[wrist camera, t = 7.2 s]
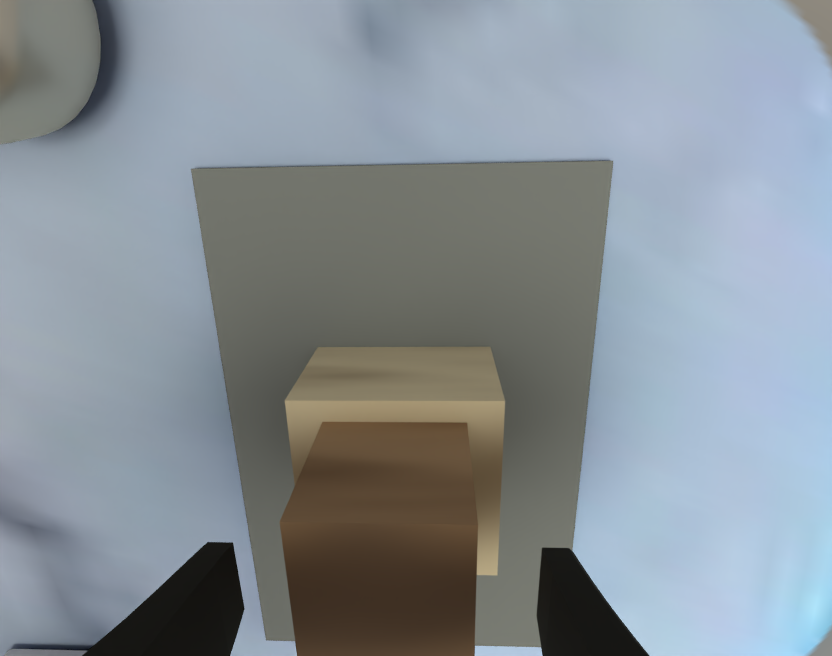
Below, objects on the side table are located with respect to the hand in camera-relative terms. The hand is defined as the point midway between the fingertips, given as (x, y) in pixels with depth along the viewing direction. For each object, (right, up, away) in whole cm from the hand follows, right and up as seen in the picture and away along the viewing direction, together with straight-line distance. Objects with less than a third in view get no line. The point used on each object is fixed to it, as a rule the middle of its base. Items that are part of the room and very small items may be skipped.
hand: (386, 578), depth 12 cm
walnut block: (0, +1, +3) cm, 3 cm away
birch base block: (0, +2, +7) cm, 7 cm away
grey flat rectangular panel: (0, +1, +7) cm, 7 cm away
